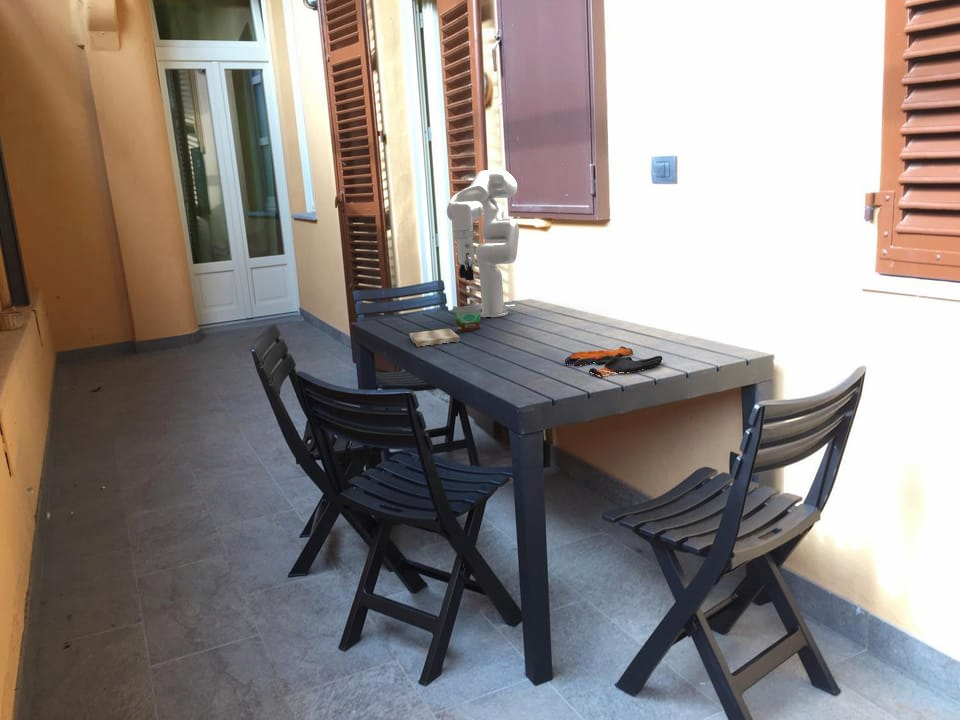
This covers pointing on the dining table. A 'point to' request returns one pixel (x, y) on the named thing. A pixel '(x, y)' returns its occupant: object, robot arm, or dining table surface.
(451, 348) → the dining table surface
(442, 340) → the birch board
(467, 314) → the food container
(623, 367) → the pair of gloves
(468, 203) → the robot arm
